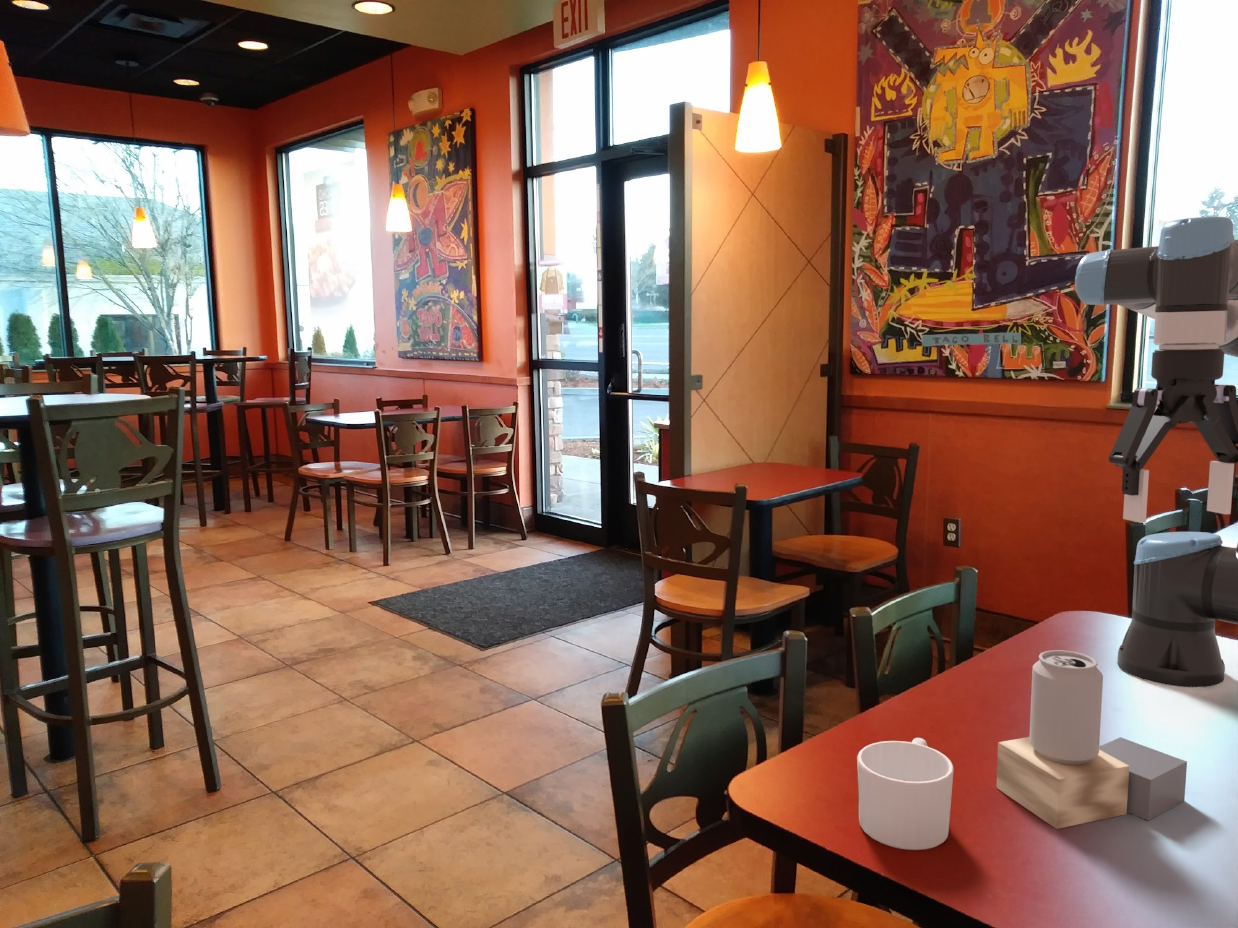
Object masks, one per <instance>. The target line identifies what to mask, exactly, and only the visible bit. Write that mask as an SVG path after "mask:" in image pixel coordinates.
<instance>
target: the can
mask: <svg viewBox="0 0 1238 928" xmlns="http://www.w3.org/2000/svg"><path fill="white" fill-rule="evenodd" d="M1038 658H1039V660H1038V661H1036V662H1035V663H1034V664H1033V665H1032V668H1031V669H1032V674H1031V693H1030V694H1031V696H1030V698H1031V699H1030V717H1029V720H1030V721H1029V737H1030V738H1029V740H1030V744H1031V746H1032V747H1033V748H1034V749H1035V750H1036V751H1037V752H1038V753H1039V754H1040V755H1041V756H1043V757H1045V758H1046V759H1049V760H1051V761H1055V762H1059V763H1063V764H1084V763H1087V762H1089V761H1090V760H1091V759H1093V758H1094V757H1096V756H1097V755H1098V753H1099V746H1100V740H1101V739H1100V738H1101V737H1100V736H1101V722H1102V721H1101V719H1102V705H1103V703H1102V702H1103V701H1102V700H1103V682H1104V675H1103V672H1101V671H1100V669H1099V668H1098V667H1097V666H1098V661H1097V660H1096V659H1095V658H1093V657H1092V656H1090V655H1087V654H1085V653H1080V652H1077V651H1072V650H1071V651H1070V650H1062V649H1055V650H1054V649H1053V650H1052V649H1051V650H1045V651H1042V652H1040V654H1039V655H1038Z"/></svg>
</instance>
